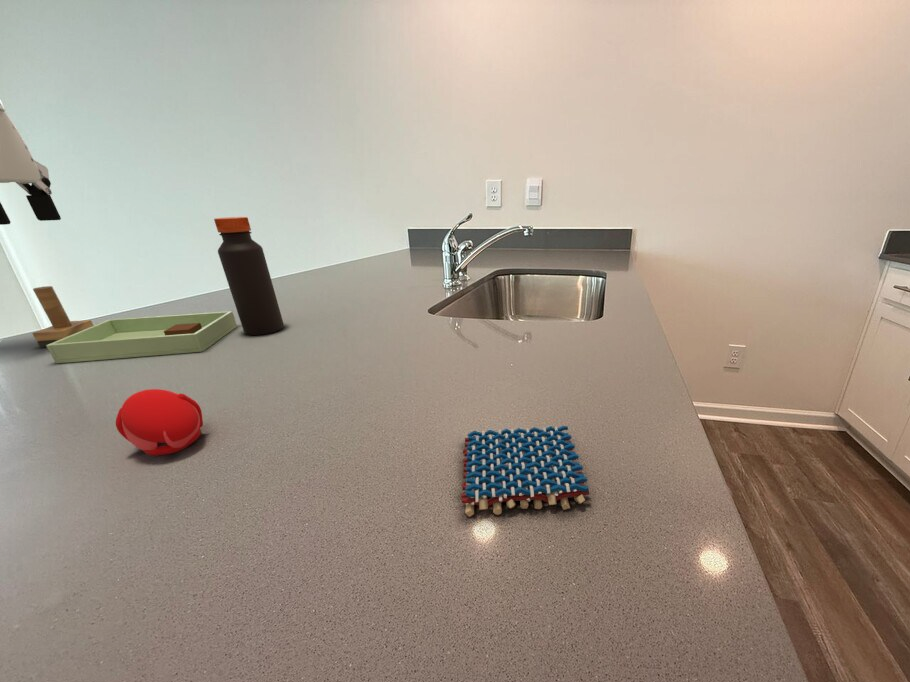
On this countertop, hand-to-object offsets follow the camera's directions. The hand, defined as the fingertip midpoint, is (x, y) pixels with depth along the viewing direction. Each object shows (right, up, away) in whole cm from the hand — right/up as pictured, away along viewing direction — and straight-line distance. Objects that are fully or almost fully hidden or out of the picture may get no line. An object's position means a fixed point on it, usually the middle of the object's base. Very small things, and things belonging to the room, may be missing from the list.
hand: (25, 222), depth 67 cm
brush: (-2, -18, +9) cm, 20 cm away
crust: (+21, -18, +6) cm, 29 cm away
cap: (+44, -33, -23) cm, 60 cm away
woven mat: (+81, -35, -29) cm, 93 cm away
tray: (+16, -19, +6) cm, 26 cm away
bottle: (+32, -16, +11) cm, 38 cm away
